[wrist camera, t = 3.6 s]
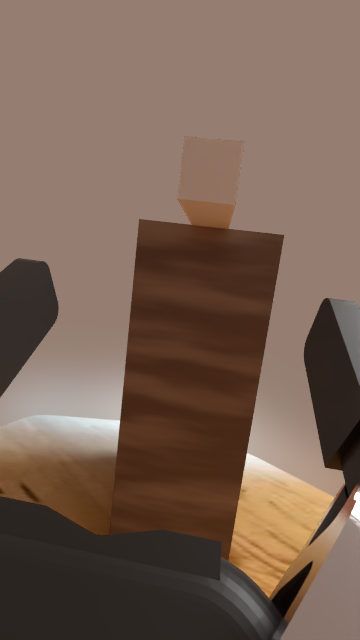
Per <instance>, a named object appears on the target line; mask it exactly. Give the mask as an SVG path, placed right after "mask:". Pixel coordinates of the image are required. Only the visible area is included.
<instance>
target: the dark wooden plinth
mask: <svg viewBox="0 0 360 640" xmlns="http://www.w3.org/2000/svg"><path fill="white" fill-rule="evenodd" d="M283 238H284V235H278V234H269V233H260V232H251V231H242V230H233V229H224V228H215V227H206V226H197V225H187V224H178V223H169V222H160V221H151V220H142V219H139V228H138V238H137V249H136V259H135V270H134V280H133V291H132V302H131V313H130V323H129V333H128V344H127V355H126V365H125V377H124V387H123V398H122V409H121V419H120V429H119V440H118V451H117V461H116V472H115V482H114V493H113V504H112V514H111V525H110V535H113V534H123V533H133V532H143V531H153V530H167V531H172V532H177V533H182V534H187V535H192V536H197V537H202V538H207V539H211V540H216V541H221V542H222V547H221V557H222V558H223V559H225V560H227V561H228V558H229V553H230V547H231V541H232V535H233V529H234V524H235V518H236V512H237V506H238V500H239V495H240V489H241V483H242V477H243V471H244V466H245V460H246V454H247V448H248V442H249V436H250V430H251V425H252V419H253V413H254V407H255V401H256V396H257V389H258V384H259V378H260V372H261V366H262V360H263V355H264V349H265V343H266V337H267V332H268V326H269V320H270V314H271V309H272V303H273V297H274V291H275V285H276V279H277V274H278V268H279V262H280V256H281V250H282V244H283Z"/></svg>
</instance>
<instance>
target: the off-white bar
mask: <svg viewBox="0 0 360 640" xmlns="http://www.w3.org/2000/svg"><path fill="white" fill-rule="evenodd" d="M243 148H244V141H232V140H220V139H208V138H197V137H184V144H183V153H182V162H181V172H180V180H179V190H178V201H179V203H180V204H181V206H182V208H183V210H184V212H185V213H186V215H187V217H188V218H189V220H190V222H191V224H192V225H197V226H206V227H215V228H224V229H228V228H229V225H230V222H231V218H232V215H233V211H234V207H235V204H236V197H237V190H238V183H239V176H240V169H241V162H242V155H243Z"/></svg>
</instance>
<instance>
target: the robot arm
mask: <svg viewBox="0 0 360 640" xmlns="http://www.w3.org/2000/svg"><path fill="white" fill-rule="evenodd" d="M57 316H58V301H57V297H56V293H55V289H54V286H53V281H52V278H51V273H50V269H49V267H48V265H47V264H46V263H45V262H43V261H36V260H28V259H21V258H19V259H16V260H14V261H13V262H12V263H11V264H10V265H8V266H7V267H6V268H5V269H4V270H3V271H1V272H0V397H1V396H2V394H3V393H4V392H5V390H6V389H7V388H8V386H9V385H10V383H11V382H12V380H13V379H14V378H15V377H16V375H17V374H18V372H19V371H20V370H21V368H22V367H23V366H24V364H25V363H26V361H27V360H28V359H29V357H30V356H31V355H32V353H33V352H34V351H35V349H36V347H37V346H38V345H39V344H40V342H41V341H42V340H43V338H44V337H45V335H46V334H47V333H48V331H49V330H50V329H51V327H52V326H53V324H54V323H55V321H56V319H57ZM304 362H305V367H306V372H307V377H308V382H309V388H310V393H311V398H312V403H313V408H314V414H315V419H316V424H317V429H318V434H319V440H320V445H321V450H322V455H323V460H324V465H325V468H331V469H337V470H342V471H343V474H344V478H345V484H344V485H343V486H342V488H341V489H340V490H339V492H338V493H337V495H336V497H335V498H334V500H333V501H332V503H331V505H330V506H329V508H328V509H327V511H326V513H325V514H324V516H323V517H322V519H321V521H320V522H319V524H318V525H317V527H316V529H315V530H314V532H313V533H312V535H311V537H310V538H309V540H308V541H307V543H306V545H305V546H304V548H303V549H302V551H301V552H300V554H299V555H298V556H297V558H296V559H295V560H294V562H293V563H292V564H291V566H290V567H289V568H288V570H287V571H286V573H285V574H284V576H283V577H282V579H281V580H280V582H279V583H278V585H277V586H276V588H275V589H274V591H273V593H272V594H271V596H270V597H269V598H268V597H267V595H266V594H265V593H264V592H263V591H262V590H261V588H260V587H259V586H258V585H257V584H256V583H255V582H254V581H253V580H252V579H251V578H250V577H249V576H248V575H246V574H245V573H244V572H243V571H241V570H240V569H239V568H237V567H236V566H235V565H233V564H232V563H231V562H229V561H227V560H225V559H223V558H222V557H221V547H222V542H221V541H216V540H211V539H207V538H202V537H197V536H192V535H187V534H182V533H177V532H172V531H167V530H153V531H143V532H133V533H123V534H113V535H96V534H94V533H92V532H90V531H88V530H86V529H85V528H83V527H81V526H80V525H78V524H76V523H75V522H73V521H71V520H69V519H68V518H66V517H64V516H63V515H61V514H59V513H58V512H56V511H54V510H52V509H51V508H49V507H47V506H44V505H39V504H35V503H30V502H25V501H20V500H15V499H10V498H5V497H0V640H360V308H359V305H358V304H357V303H356V302H353V301H345V300H338V299H330V298H326V299H324V300H323V302H322V304H321V306H320V308H319V311H318V313H317V316H316V317H315V320H314V322H313V325H312V327H311V329H310V332H309V334H308V337H307V339H306V343H305V348H304Z"/></svg>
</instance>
